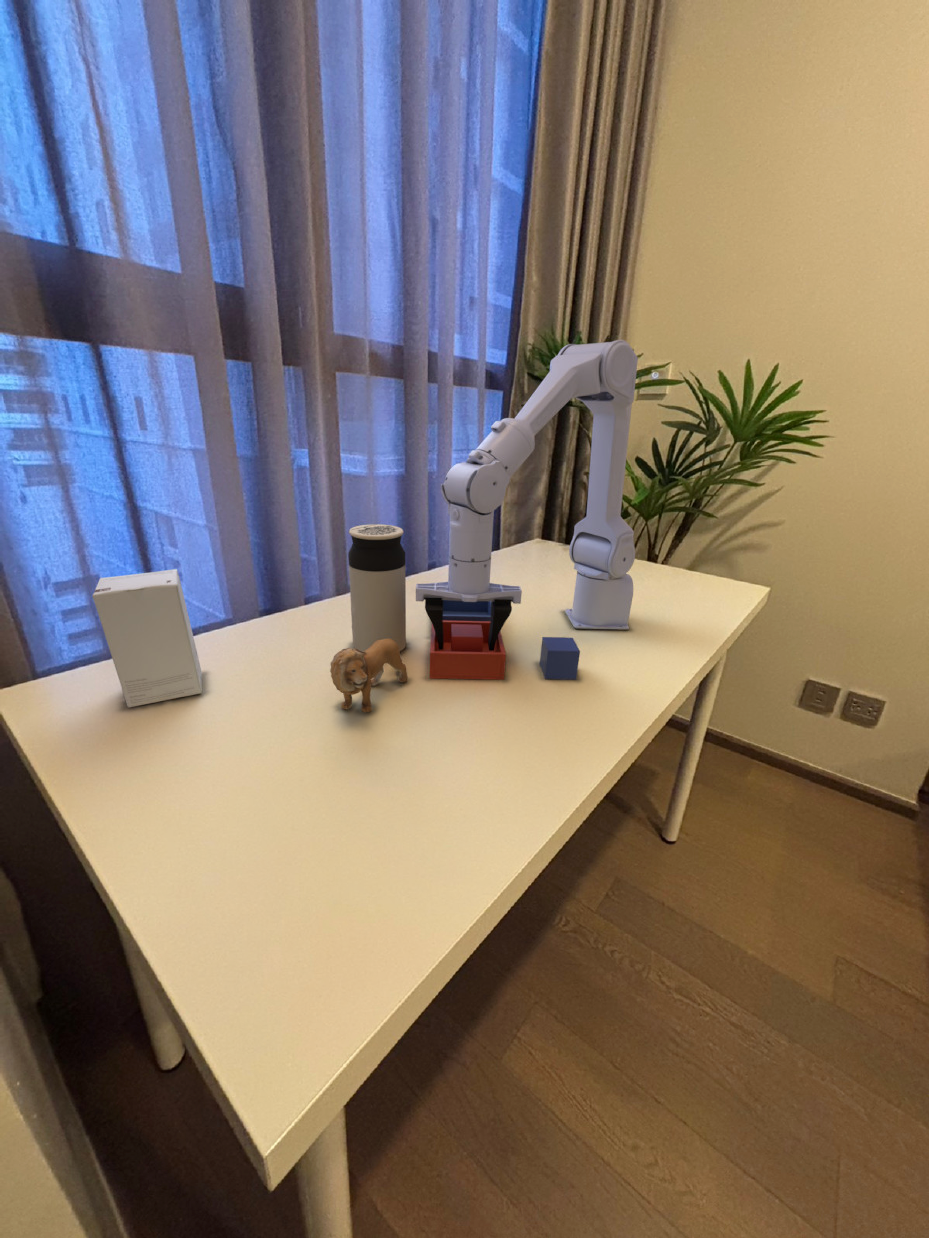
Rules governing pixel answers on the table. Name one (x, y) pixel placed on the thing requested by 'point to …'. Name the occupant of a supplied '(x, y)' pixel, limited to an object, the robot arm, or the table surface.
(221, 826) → the table surface
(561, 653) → the blue block
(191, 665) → the cosmetic box
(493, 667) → the red bin
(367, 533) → the travel mug
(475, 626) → the red block
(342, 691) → the lion figurine
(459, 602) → the blue bin
